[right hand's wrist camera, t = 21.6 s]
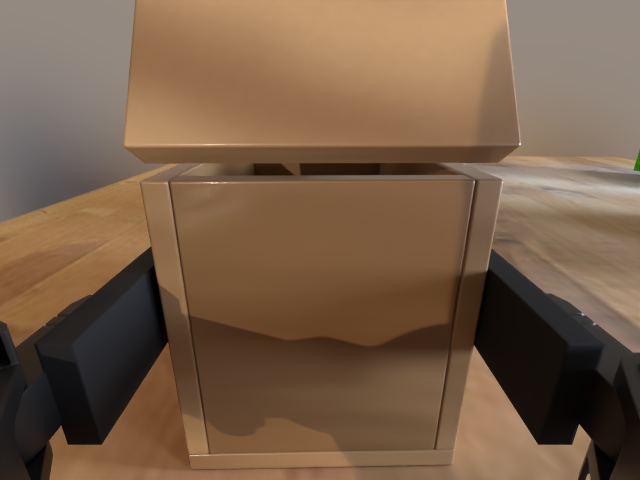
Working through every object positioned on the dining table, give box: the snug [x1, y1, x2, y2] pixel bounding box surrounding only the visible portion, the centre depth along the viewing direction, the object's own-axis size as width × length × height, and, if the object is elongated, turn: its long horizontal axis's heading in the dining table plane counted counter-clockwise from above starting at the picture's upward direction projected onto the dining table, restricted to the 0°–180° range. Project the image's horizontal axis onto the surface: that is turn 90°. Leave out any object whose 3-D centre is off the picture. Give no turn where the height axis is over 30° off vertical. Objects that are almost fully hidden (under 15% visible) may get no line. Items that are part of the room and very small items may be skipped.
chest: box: [140, 163, 503, 469], centre depth 18 cm, size 14×9×10 cm, turn 1°
